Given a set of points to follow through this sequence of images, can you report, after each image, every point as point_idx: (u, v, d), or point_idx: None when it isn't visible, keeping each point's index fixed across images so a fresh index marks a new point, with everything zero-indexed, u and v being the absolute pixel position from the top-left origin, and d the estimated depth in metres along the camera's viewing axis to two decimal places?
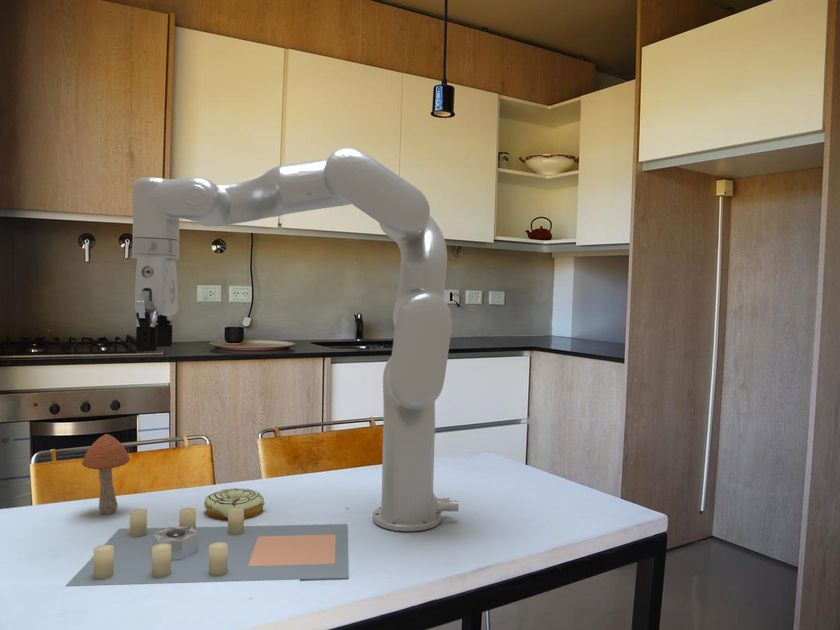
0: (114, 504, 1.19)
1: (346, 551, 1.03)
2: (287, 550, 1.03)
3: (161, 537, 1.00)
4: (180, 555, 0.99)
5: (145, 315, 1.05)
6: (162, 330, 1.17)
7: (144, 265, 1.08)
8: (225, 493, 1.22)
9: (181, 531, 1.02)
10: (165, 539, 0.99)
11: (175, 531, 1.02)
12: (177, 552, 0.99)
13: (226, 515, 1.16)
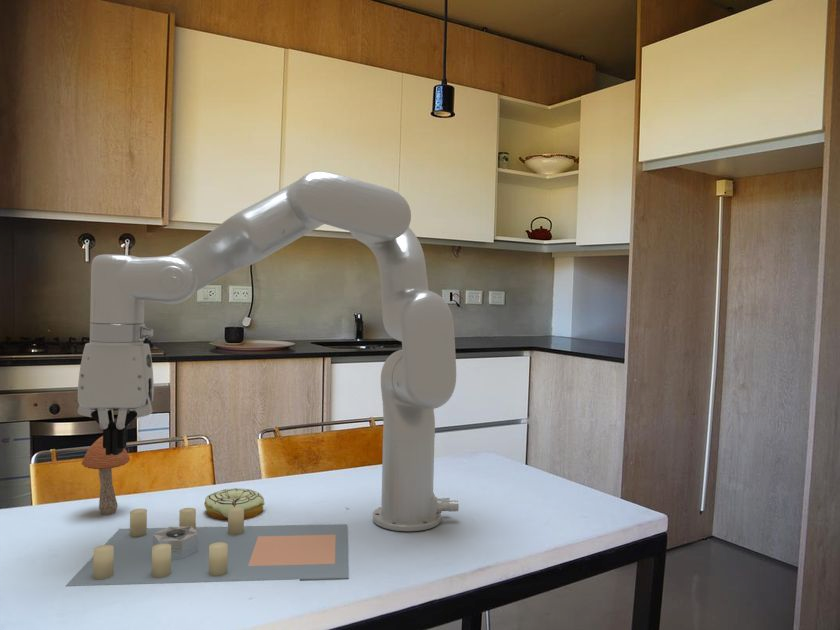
0: (114, 504, 1.19)
1: (346, 551, 1.03)
2: (287, 550, 1.03)
3: (161, 537, 1.00)
4: (180, 555, 0.99)
5: None
6: None
7: (146, 354, 1.00)
8: (225, 493, 1.22)
9: (181, 531, 1.02)
10: (165, 539, 0.99)
11: (175, 531, 1.02)
12: (177, 552, 0.99)
13: (226, 515, 1.16)
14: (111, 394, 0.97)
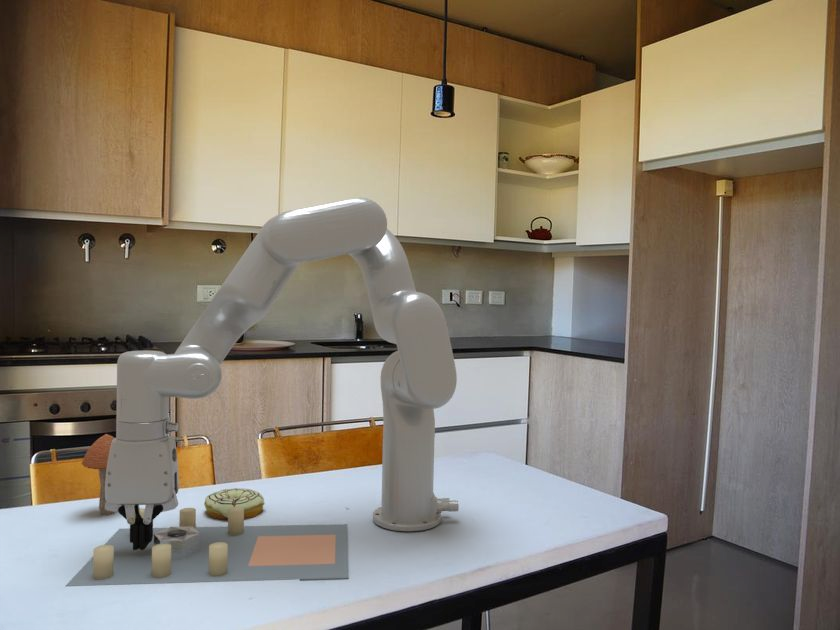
0: None
1: (346, 551, 1.03)
2: (287, 550, 1.03)
3: (163, 537, 1.00)
4: (182, 555, 0.99)
5: None
6: None
7: (172, 449, 1.01)
8: (225, 493, 1.22)
9: (182, 531, 1.02)
10: (167, 539, 0.99)
11: (176, 531, 1.02)
12: (178, 552, 0.99)
13: (226, 515, 1.16)
14: (137, 490, 0.98)
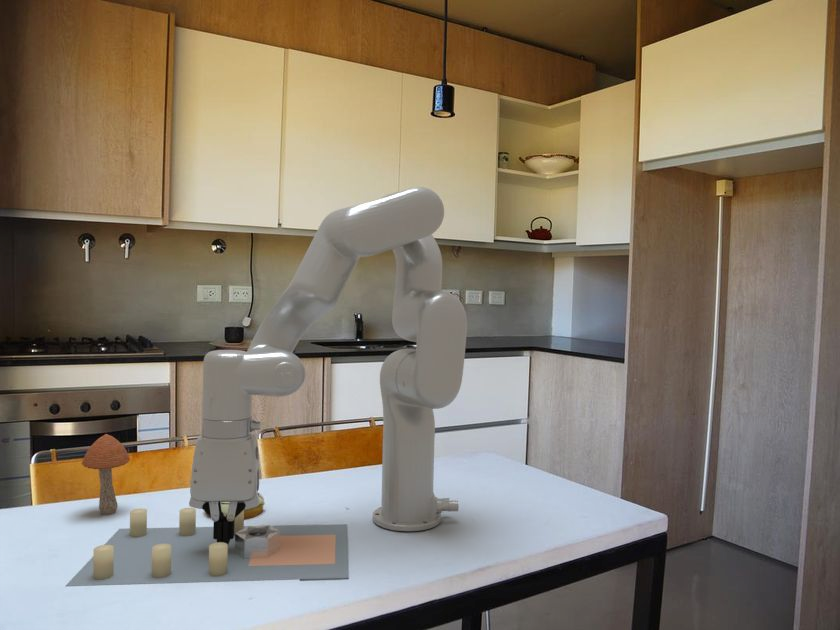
0: (114, 504, 1.19)
1: (346, 551, 1.03)
2: (287, 550, 1.03)
3: (246, 536, 1.01)
4: (266, 554, 1.00)
5: None
6: None
7: (255, 447, 1.02)
8: None
9: (262, 530, 1.04)
10: (251, 538, 1.00)
11: (256, 530, 1.03)
12: (262, 550, 1.00)
13: None
14: (222, 488, 1.00)
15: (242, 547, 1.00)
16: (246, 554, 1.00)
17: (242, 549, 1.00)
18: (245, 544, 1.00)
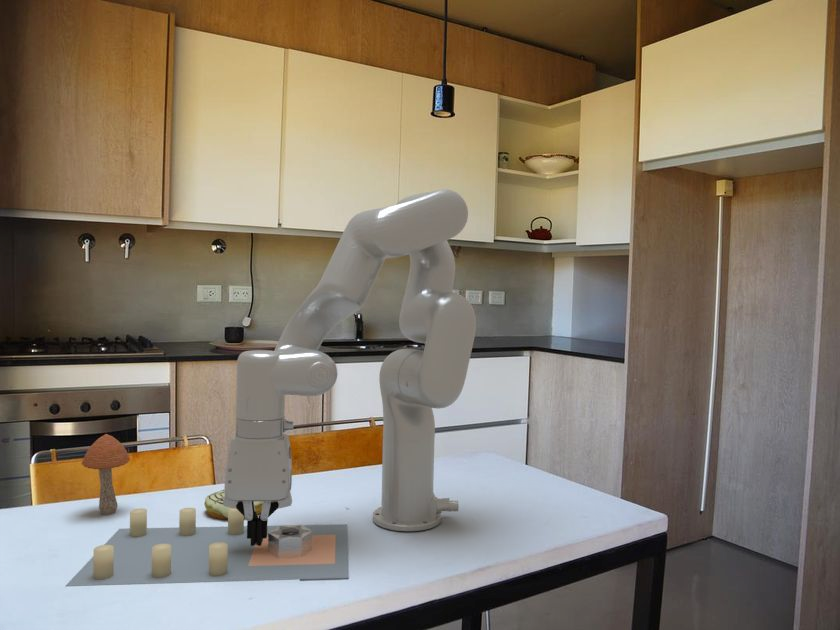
0: (114, 504, 1.19)
1: (346, 551, 1.03)
2: None
3: (279, 536, 1.01)
4: (300, 553, 1.01)
5: None
6: (256, 524, 1.03)
7: (288, 446, 1.03)
8: None
9: (295, 529, 1.04)
10: (284, 537, 1.01)
11: (289, 530, 1.04)
12: (296, 550, 1.01)
13: (226, 515, 1.16)
14: (257, 487, 1.00)
15: (275, 546, 1.01)
16: (280, 554, 1.00)
17: (276, 548, 1.01)
18: (279, 544, 1.00)
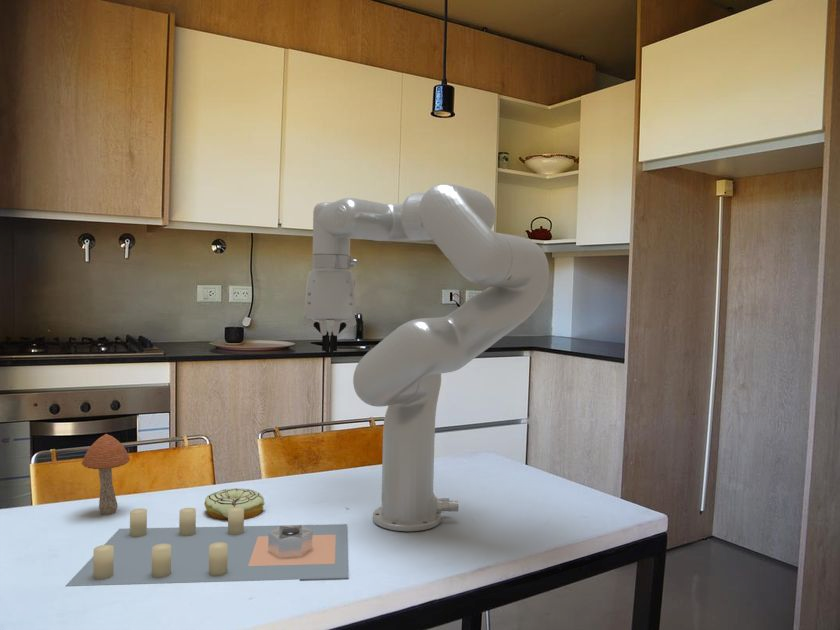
0: (114, 504, 1.19)
1: (346, 551, 1.03)
2: None
3: (280, 536, 1.01)
4: (300, 553, 1.01)
5: None
6: None
7: (353, 278, 1.31)
8: (225, 493, 1.22)
9: (295, 529, 1.04)
10: (285, 537, 1.01)
11: (289, 529, 1.04)
12: (297, 550, 1.01)
13: (226, 515, 1.16)
14: (330, 308, 1.29)
15: (276, 546, 1.01)
16: (280, 554, 1.00)
17: (276, 548, 1.01)
18: (279, 544, 1.00)
